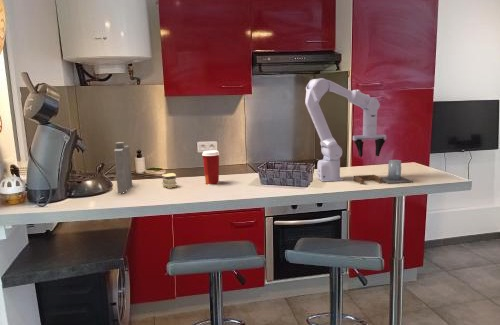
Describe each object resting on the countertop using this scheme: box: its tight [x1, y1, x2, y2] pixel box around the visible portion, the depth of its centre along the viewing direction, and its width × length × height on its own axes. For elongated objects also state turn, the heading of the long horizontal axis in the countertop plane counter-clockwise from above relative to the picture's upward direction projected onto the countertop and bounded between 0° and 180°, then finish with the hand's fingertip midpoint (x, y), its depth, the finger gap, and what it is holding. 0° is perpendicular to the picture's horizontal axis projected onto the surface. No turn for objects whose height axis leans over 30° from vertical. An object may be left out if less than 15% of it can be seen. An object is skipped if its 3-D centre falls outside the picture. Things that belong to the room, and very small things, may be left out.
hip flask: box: [113, 141, 133, 194], centre depth 170 cm, size 16×4×20 cm, turn 5°
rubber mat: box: [379, 176, 414, 185], centre depth 172 cm, size 11×11×1 cm
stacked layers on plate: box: [161, 172, 178, 189], centre depth 173 cm, size 10×9×6 cm
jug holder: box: [353, 174, 383, 185], centre depth 171 cm, size 9×8×2 cm
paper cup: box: [201, 150, 220, 185], centre depth 177 cm, size 8×8×14 cm
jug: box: [387, 159, 402, 181], centre depth 171 cm, size 5×7×8 cm
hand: (369, 156), depth 180 cm, fingers open, 7 cm apart
